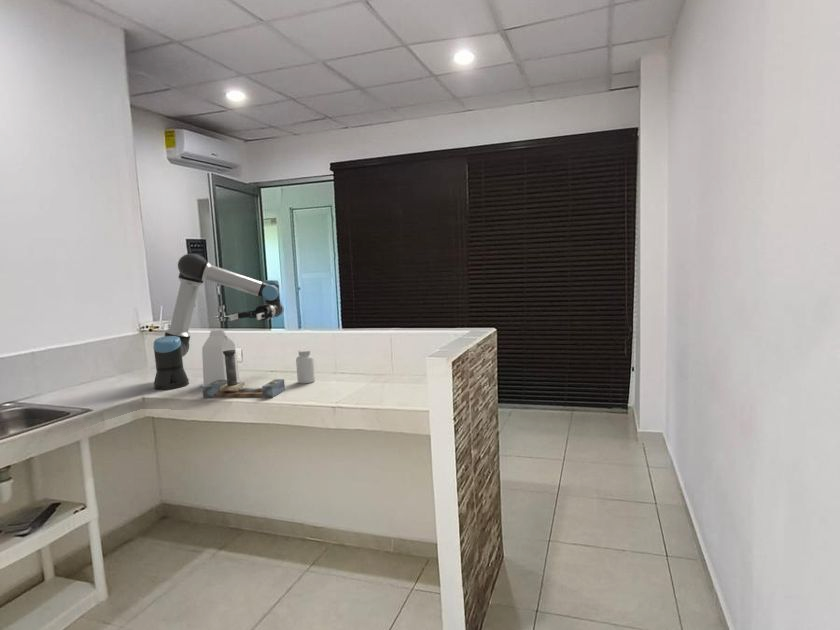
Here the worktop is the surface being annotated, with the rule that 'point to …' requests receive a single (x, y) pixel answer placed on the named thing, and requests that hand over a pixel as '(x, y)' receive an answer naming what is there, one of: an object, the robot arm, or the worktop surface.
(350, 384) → the worktop surface
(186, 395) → the worktop surface
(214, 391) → the rail track
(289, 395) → the worktop surface
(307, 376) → the pill bottle
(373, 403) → the worktop surface
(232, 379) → the dark grey post
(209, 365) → the milk
